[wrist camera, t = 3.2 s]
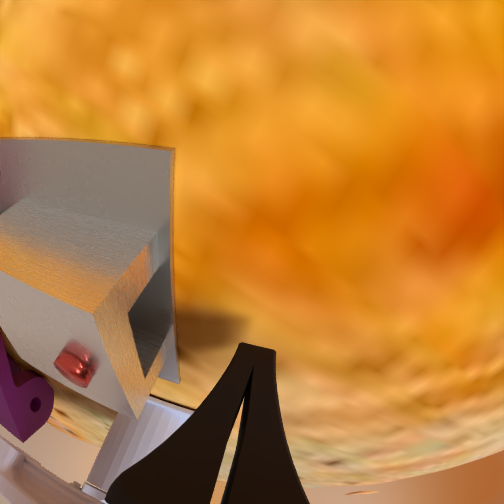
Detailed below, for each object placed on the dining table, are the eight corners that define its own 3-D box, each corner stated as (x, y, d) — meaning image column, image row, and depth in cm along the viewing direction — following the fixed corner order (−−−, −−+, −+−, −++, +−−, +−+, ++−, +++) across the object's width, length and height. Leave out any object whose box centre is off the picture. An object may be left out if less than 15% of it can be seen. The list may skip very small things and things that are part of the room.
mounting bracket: (-2, 274, 28) (17, 385, 31) (-49, 288, 20) (-17, 408, 23) (38, 293, 27) (58, 411, 30) (-16, 314, 18) (23, 442, 22)
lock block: (167, 355, 15) (133, 430, 11) (56, 310, 15) (16, 365, 12) (157, 232, 10) (81, 330, 6) (21, 199, 11) (-48, 255, 7)
